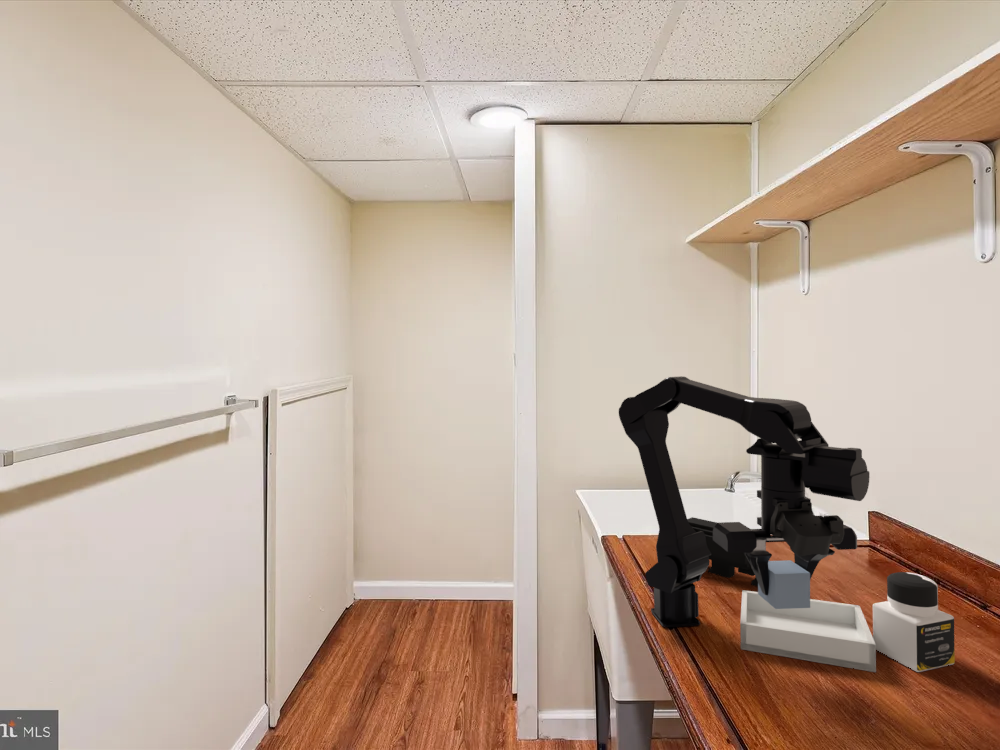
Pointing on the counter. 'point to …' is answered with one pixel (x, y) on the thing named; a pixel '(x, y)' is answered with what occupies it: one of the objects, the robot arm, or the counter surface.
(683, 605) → the robot arm
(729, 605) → the counter surface
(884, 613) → the medicine bottle
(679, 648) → the counter surface
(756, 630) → the tote
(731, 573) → the security camera
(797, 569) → the block
